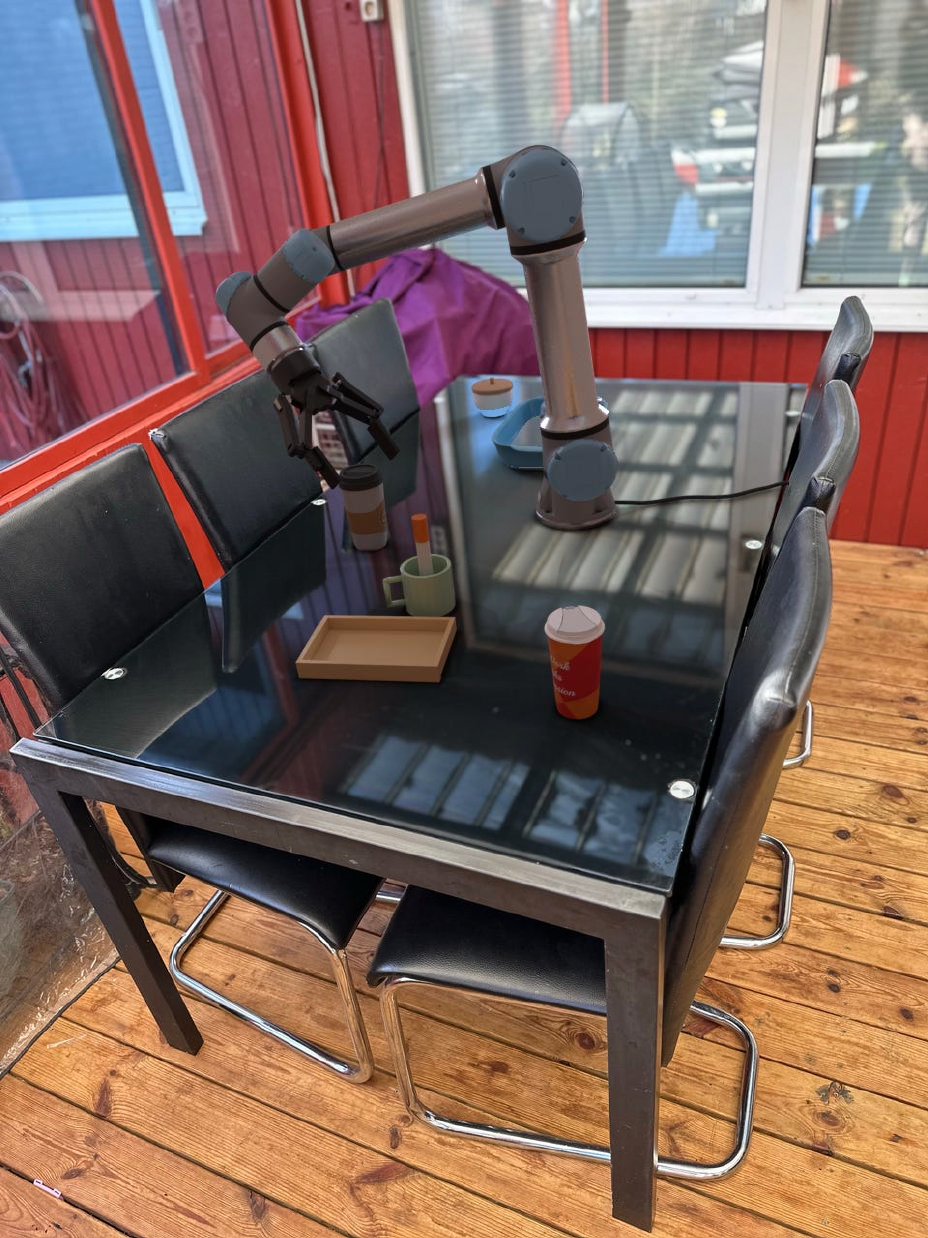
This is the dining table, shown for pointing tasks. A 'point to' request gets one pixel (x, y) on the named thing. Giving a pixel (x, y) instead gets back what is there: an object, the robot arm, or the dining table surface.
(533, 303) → the robot arm
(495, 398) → the trinket box
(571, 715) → the paper cup
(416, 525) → the marker
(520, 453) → the casserole dish
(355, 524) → the coffee cup
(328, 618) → the tray
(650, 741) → the dining table surface
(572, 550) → the dining table surface
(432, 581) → the mug
